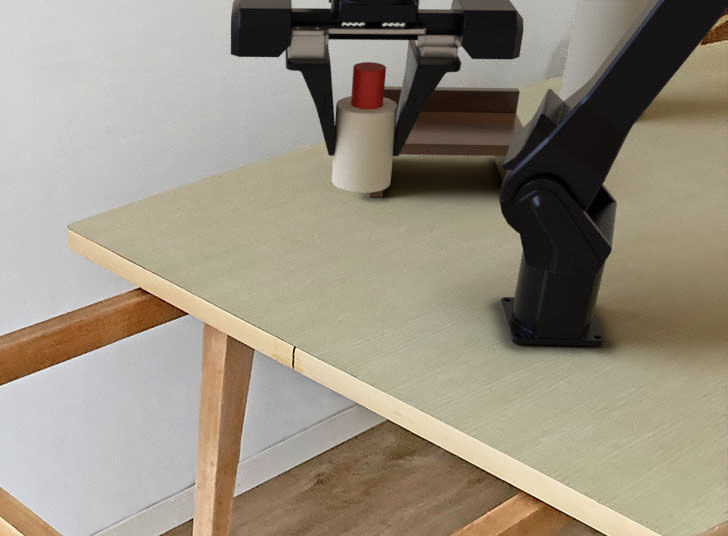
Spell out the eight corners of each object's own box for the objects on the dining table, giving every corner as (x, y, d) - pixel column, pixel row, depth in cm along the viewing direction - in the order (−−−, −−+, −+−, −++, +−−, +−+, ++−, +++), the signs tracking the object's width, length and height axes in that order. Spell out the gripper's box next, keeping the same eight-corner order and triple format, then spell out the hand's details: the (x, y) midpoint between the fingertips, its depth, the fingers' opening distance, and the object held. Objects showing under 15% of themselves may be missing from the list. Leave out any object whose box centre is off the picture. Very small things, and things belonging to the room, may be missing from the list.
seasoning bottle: (392, 193, 76) (403, 76, 71) (332, 192, 76) (339, 75, 71) (387, 171, 79) (398, 58, 74) (330, 171, 79) (337, 57, 74)
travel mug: (610, 127, 114) (650, -61, 103) (543, 111, 118) (575, -72, 107) (645, 110, 119) (688, -73, 108) (580, 94, 123) (614, -83, 112)
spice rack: (523, 200, 98) (536, 122, 94) (369, 197, 99) (375, 120, 95) (506, 160, 106) (518, 88, 102) (364, 158, 107) (369, 85, 103)
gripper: (511, -114, 73) (478, 118, 83) (236, -116, 74) (235, 116, 83) (543, -85, 64) (503, 171, 74) (230, -87, 65) (230, 168, 74)
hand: (363, 154), depth 76 cm, fingers closed on seasoning bottle, 4 cm apart
